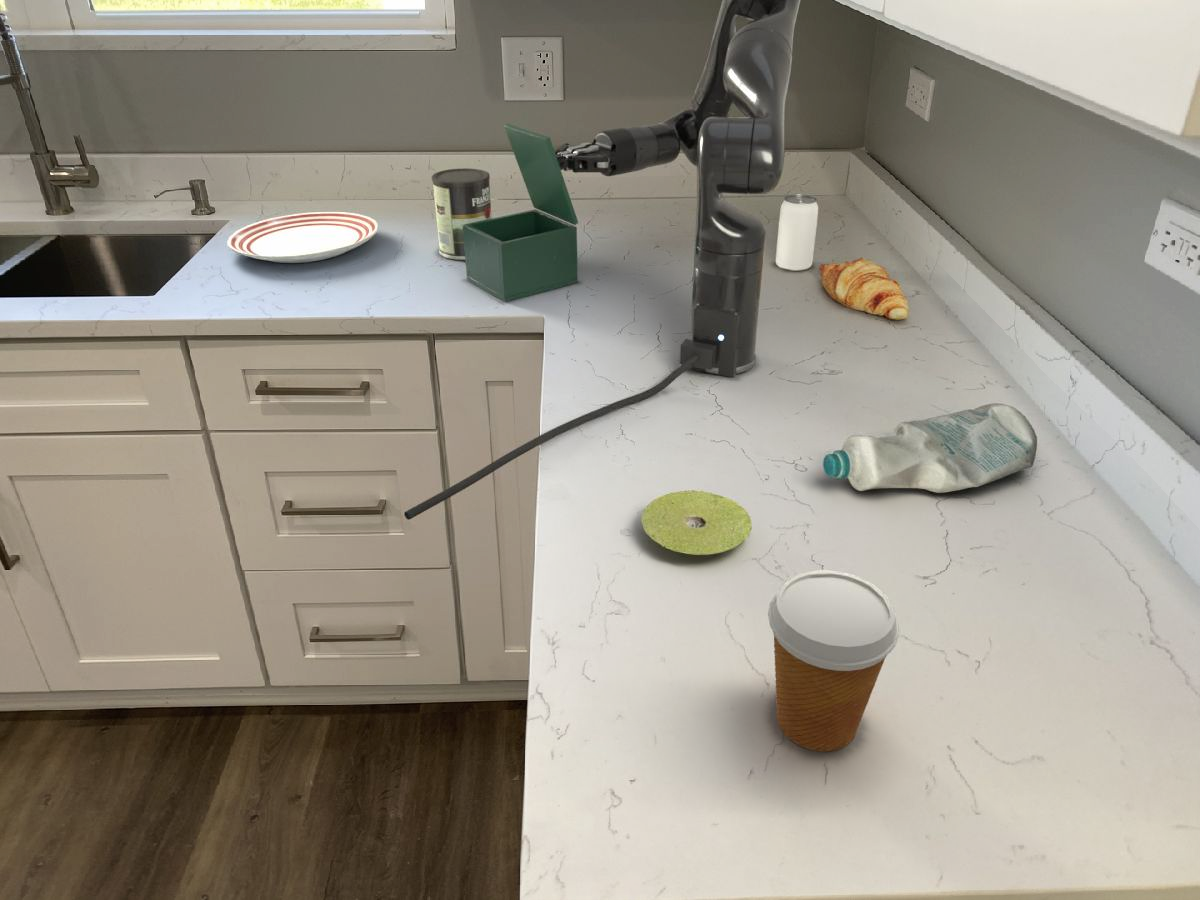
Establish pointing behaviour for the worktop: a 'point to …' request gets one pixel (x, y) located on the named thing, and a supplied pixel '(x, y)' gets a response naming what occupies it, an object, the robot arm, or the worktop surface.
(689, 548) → the green disc
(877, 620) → the disposable coffee cup
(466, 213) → the coffee can
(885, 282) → the croissant
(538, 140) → the lid
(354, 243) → the dinner plate
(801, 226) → the can
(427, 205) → the worktop surface
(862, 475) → the crushed plastic bottle
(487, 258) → the caddy
